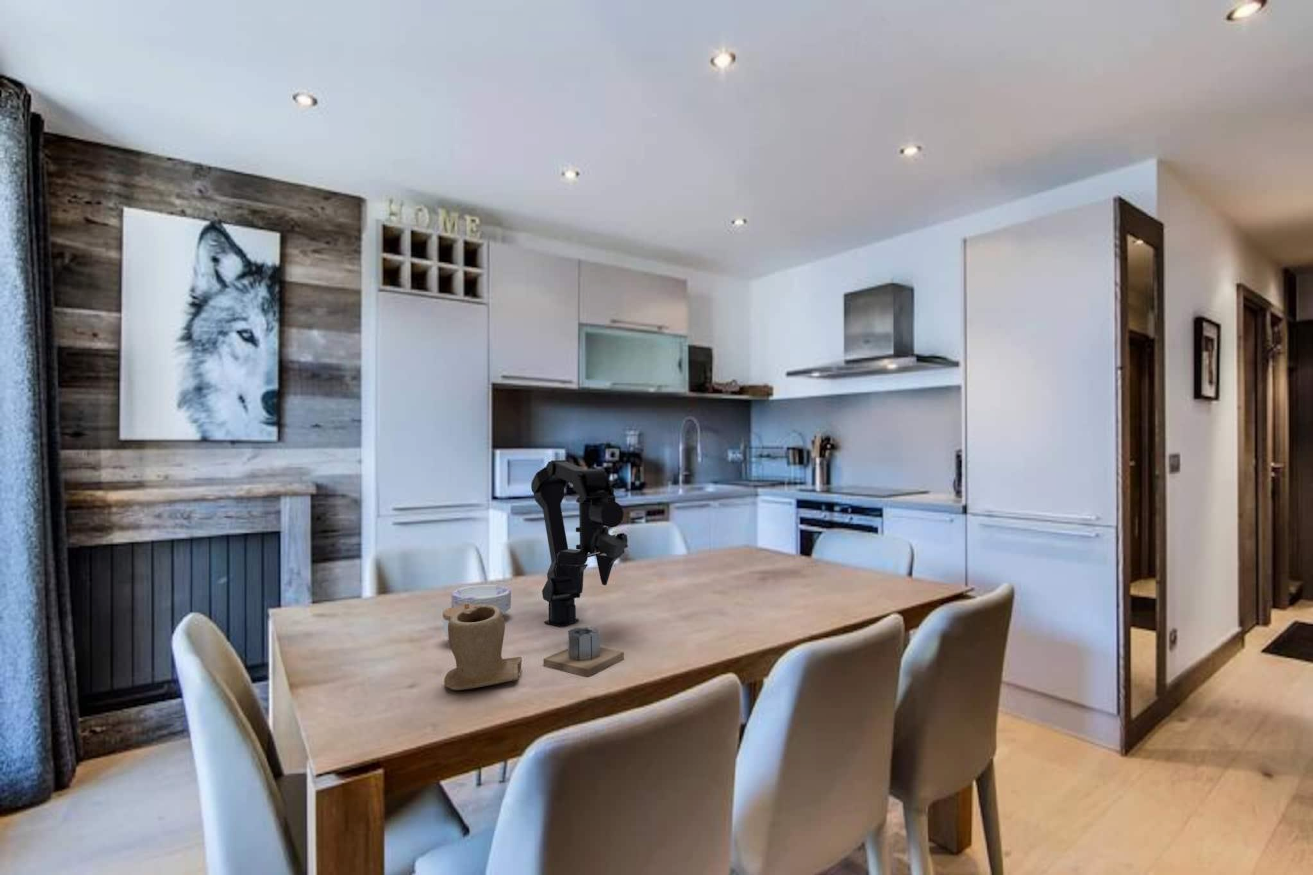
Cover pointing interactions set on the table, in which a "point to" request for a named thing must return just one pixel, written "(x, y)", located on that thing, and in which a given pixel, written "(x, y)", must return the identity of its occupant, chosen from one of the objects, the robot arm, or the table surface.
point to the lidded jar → (451, 611)
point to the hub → (583, 643)
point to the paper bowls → (483, 596)
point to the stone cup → (479, 649)
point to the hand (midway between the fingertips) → (592, 588)
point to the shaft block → (583, 662)
